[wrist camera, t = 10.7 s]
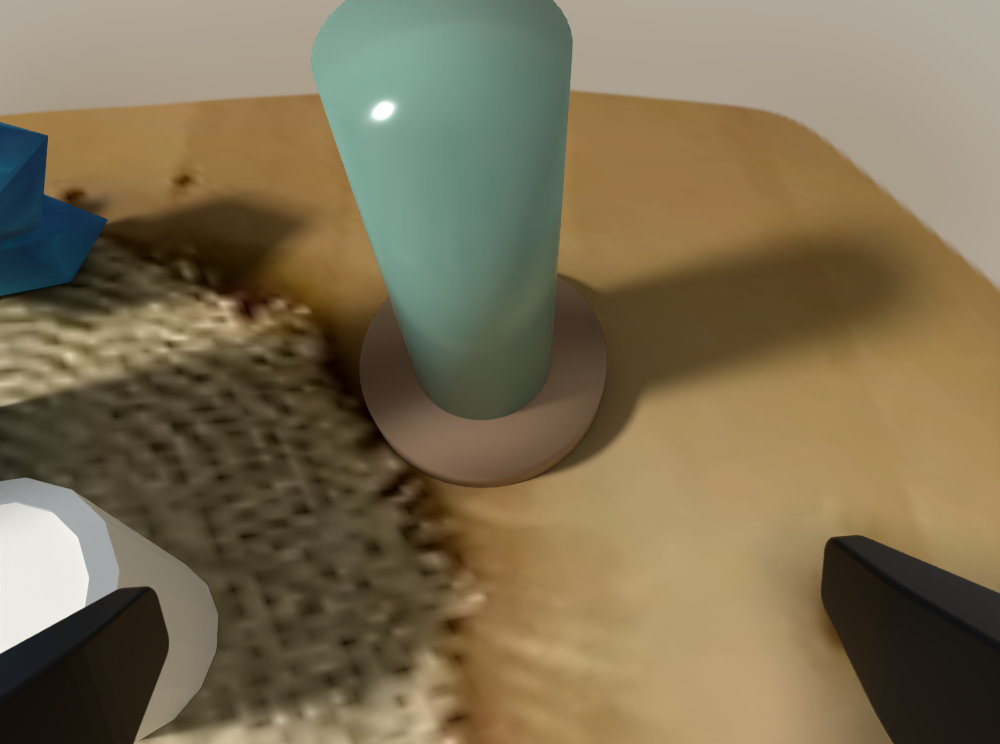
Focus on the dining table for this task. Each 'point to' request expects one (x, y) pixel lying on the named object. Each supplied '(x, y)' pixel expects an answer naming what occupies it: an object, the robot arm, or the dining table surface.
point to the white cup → (98, 583)
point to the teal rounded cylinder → (457, 180)
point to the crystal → (37, 219)
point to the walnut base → (497, 442)
